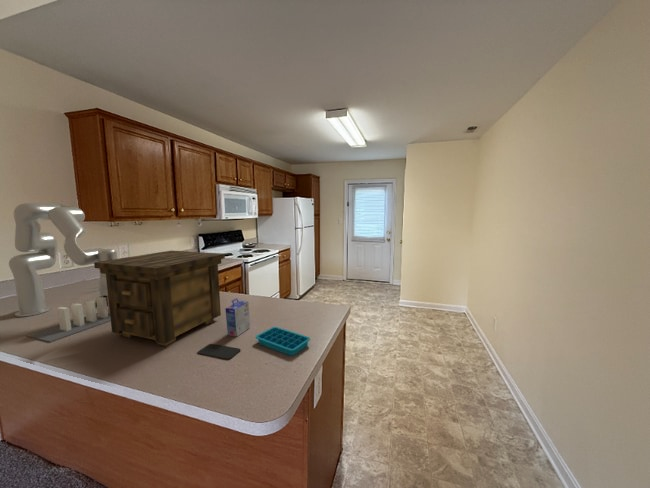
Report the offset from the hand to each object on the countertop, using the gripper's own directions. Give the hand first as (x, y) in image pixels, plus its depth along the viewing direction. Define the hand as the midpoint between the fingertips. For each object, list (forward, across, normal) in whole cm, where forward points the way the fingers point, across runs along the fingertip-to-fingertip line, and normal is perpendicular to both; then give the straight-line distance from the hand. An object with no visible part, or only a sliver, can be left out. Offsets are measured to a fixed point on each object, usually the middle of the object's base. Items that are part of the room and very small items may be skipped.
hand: (113, 305), depth 136 cm
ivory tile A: (+4, 0, -5) cm, 7 cm away
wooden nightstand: (+5, +43, -3) cm, 43 cm away
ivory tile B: (+4, 0, -10) cm, 11 cm away
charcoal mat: (+5, 0, -12) cm, 13 cm away
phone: (+5, +79, -13) cm, 80 cm away
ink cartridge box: (+5, +75, +4) cm, 75 cm away
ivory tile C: (+4, 0, -15) cm, 16 cm away
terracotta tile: (+4, 0, 0) cm, 4 cm away
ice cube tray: (+5, +99, 0) cm, 99 cm away
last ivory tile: (+4, 0, -20) cm, 20 cm away
